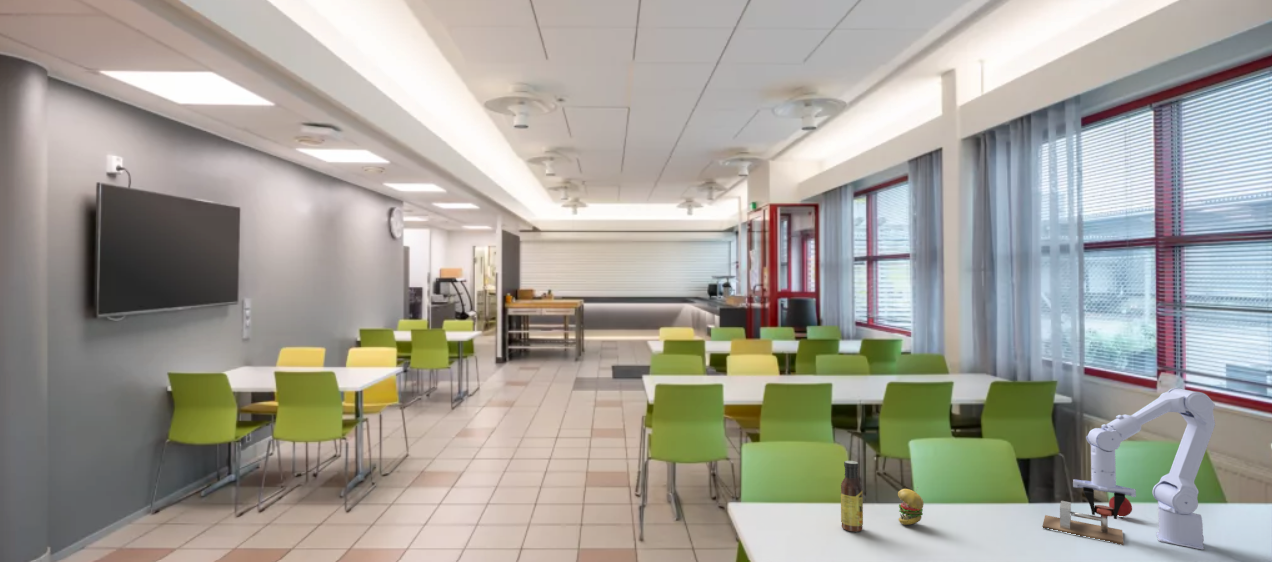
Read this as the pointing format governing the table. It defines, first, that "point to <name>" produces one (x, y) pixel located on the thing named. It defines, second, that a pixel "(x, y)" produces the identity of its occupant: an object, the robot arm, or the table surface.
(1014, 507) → the table surface
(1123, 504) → the onion
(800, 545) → the table surface
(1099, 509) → the red knob lever
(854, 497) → the sauce bottle
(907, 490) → the hamburger
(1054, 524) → the board
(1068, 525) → the grey rectangular block
